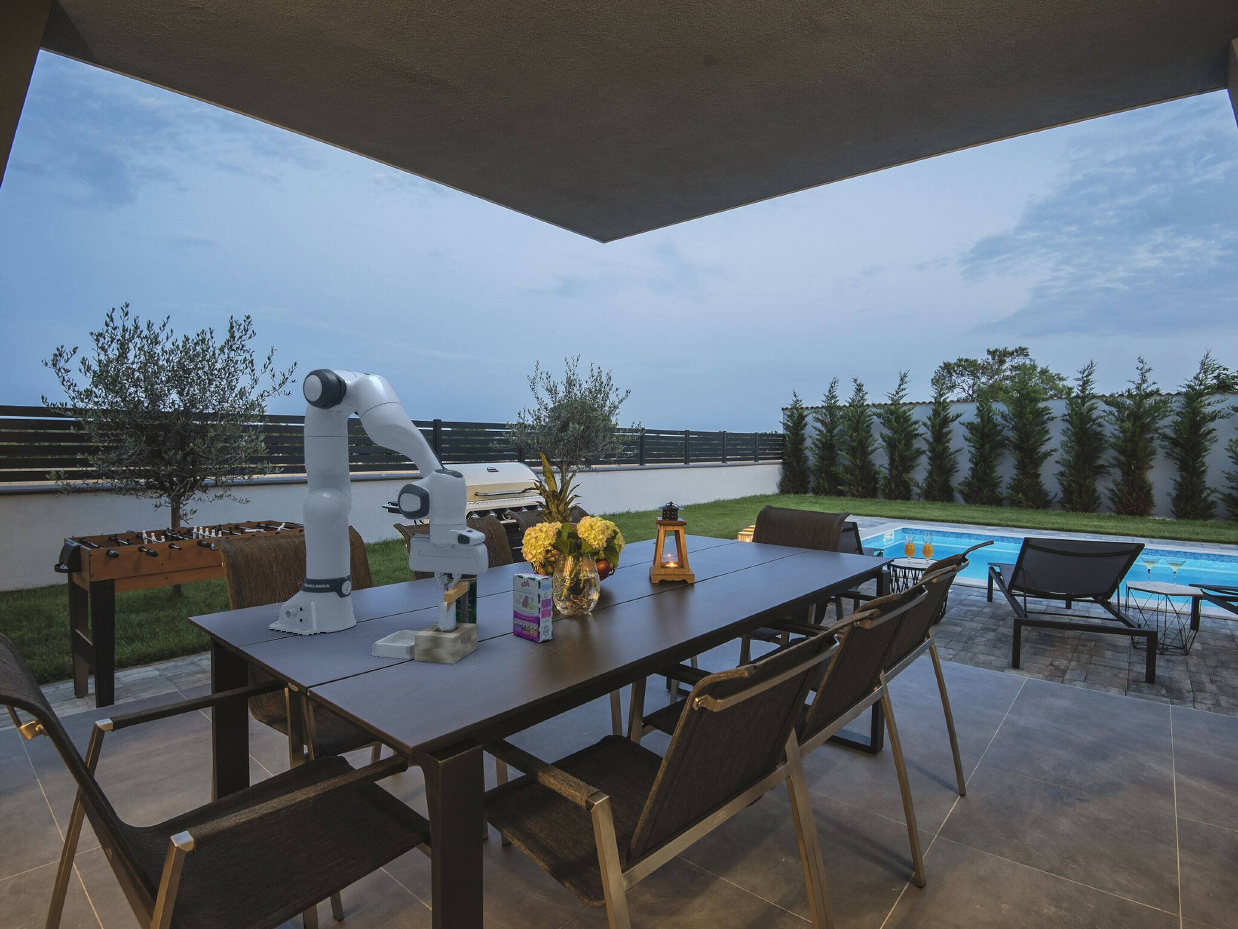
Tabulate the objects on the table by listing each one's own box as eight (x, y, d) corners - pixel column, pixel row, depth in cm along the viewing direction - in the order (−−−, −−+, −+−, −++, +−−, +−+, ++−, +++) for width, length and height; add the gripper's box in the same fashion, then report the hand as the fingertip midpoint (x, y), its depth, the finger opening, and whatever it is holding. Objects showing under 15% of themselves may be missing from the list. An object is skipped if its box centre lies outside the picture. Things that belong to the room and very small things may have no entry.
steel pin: (435, 656, 146) (435, 601, 146) (443, 651, 150) (443, 598, 149) (450, 657, 145) (450, 602, 145) (458, 652, 149) (458, 598, 148)
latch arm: (442, 602, 143) (442, 593, 143) (461, 589, 157) (461, 581, 157) (453, 602, 143) (453, 593, 143) (470, 589, 157) (470, 581, 157)
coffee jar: (479, 634, 164) (479, 565, 164) (448, 637, 161) (448, 566, 161) (474, 625, 173) (474, 559, 173) (445, 627, 170) (445, 561, 170)
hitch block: (414, 660, 142) (414, 603, 142) (450, 639, 159) (450, 588, 159) (453, 663, 140) (453, 606, 140) (486, 642, 157) (486, 590, 157)
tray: (372, 656, 146) (372, 643, 145) (401, 641, 157) (401, 629, 157) (409, 659, 143) (409, 646, 143) (436, 644, 155) (436, 632, 155)
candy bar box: (554, 639, 159) (554, 576, 159) (539, 643, 156) (539, 579, 155) (527, 631, 167) (527, 571, 167) (512, 635, 163) (512, 573, 163)
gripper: (403, 534, 151) (403, 590, 151) (479, 538, 146) (479, 595, 147) (417, 531, 157) (417, 585, 158) (491, 535, 153) (490, 590, 153)
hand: (447, 590), depth 152 cm, fingers closed
